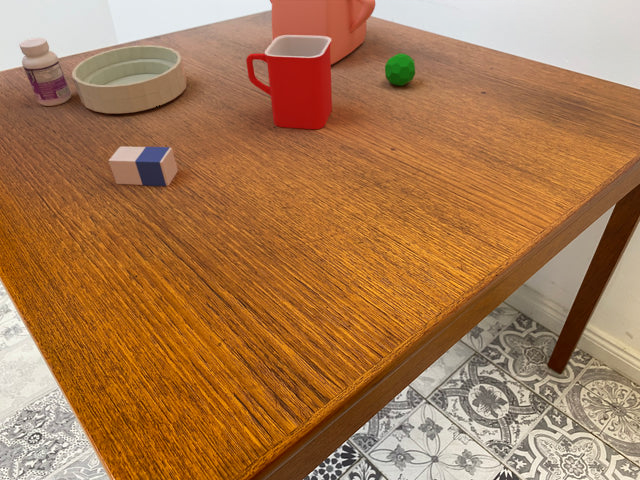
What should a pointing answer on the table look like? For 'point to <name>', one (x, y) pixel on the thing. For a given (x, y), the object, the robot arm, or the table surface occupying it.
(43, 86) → the pill bottle
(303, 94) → the mug
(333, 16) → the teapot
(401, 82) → the polyhedron
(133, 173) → the eraser
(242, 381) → the table surface
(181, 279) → the table surface
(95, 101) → the bowl
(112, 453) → the table surface
